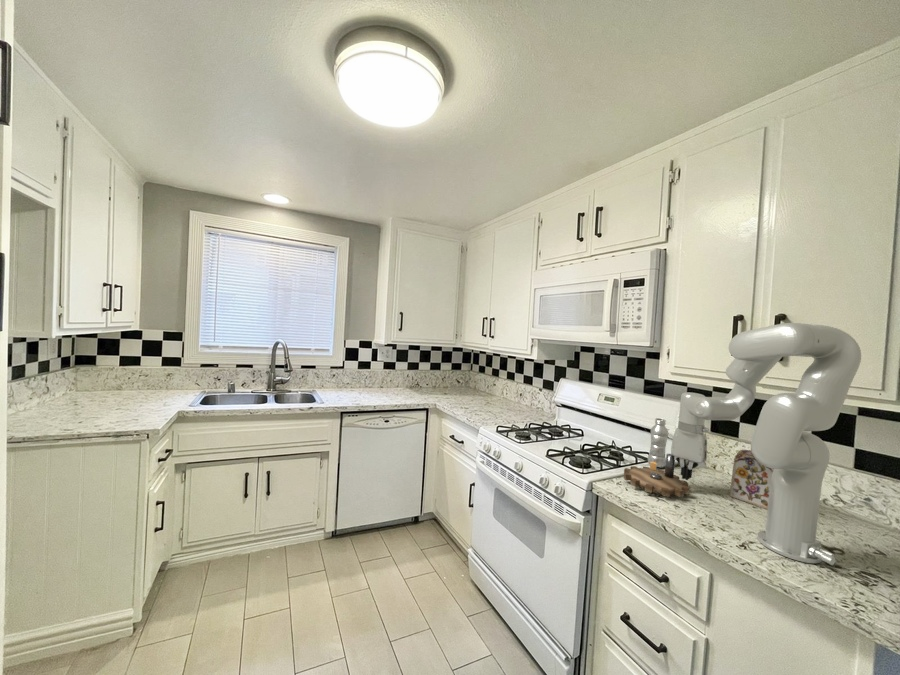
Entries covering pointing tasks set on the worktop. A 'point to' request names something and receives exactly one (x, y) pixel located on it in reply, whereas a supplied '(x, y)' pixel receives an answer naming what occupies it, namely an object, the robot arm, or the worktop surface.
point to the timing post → (653, 465)
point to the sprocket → (658, 479)
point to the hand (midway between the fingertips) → (685, 478)
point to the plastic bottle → (658, 443)
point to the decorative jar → (750, 480)
